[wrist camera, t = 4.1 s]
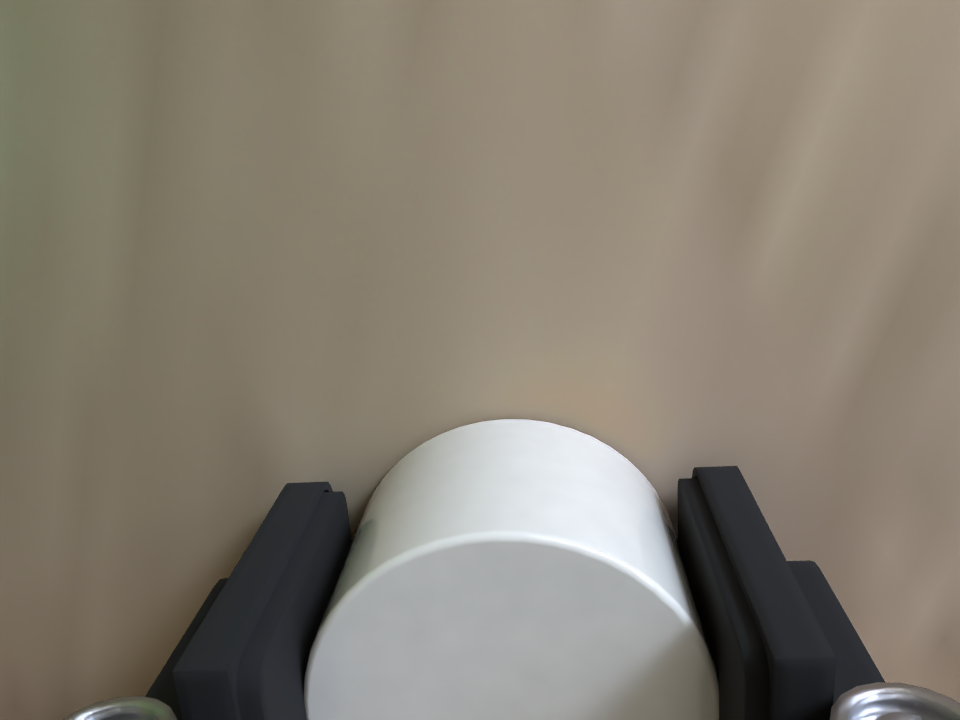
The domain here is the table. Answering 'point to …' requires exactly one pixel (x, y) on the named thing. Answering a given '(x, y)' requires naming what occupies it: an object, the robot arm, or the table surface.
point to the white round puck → (512, 590)
